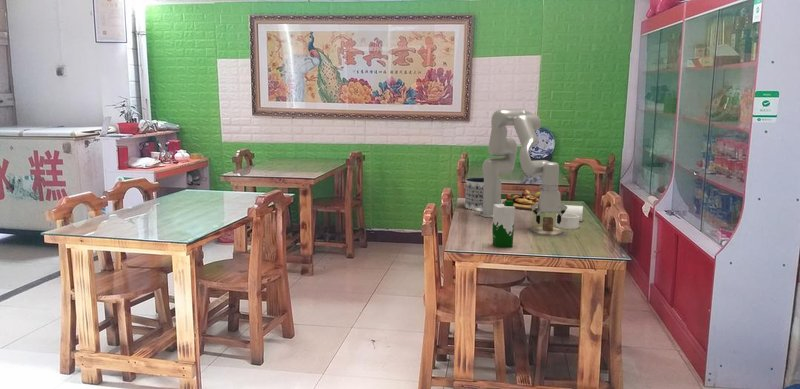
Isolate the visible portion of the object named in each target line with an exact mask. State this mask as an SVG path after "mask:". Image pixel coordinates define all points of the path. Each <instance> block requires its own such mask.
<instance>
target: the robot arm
mask: <svg viewBox="0 0 800 389" xmlns="http://www.w3.org/2000/svg"><path fill="white" fill-rule="evenodd" d="M507 126H509V127H511V126H512V127H514V130H515V133H516V134H517V137H518V140H519V142H520V145H521V148H520V150H519V154H518V144H517V142H516V140H515V139H514V138H512V137H508V127H507ZM541 127H542V120H541V118H540V117H539V116H538V115H537V114H536V113H533V112H531V111H529V110H526V109H521V108H517V109H516V108H513V109H512V108H506V109H505V108H504V109H503V108H501V109H498V110H496V111H494V112H493V114H492V116H491V131H490V136H489V137H490V138H489V143H488V148H487V149H488V154H489V155H491V157H488V158H486V159H485V160H484V161H483V162H482V168H481V169H482V174H483V178H484V194H483V206H482V208H474V210H473V212H477V213H479V216H481V217H484V218H489V219H490V218H492V219H493V207H494V204H502V203H501V202H502V180H501V178H500V177H499V176H504V175H507V176H508V175H511V174H512V172H514V169H515V164H516V158H517V154H518V155H519V157H518V159H519V160H518V161H519V163H520V167H521V169H522V171H523V174H525V175H526V176H528V177H542V178H541V180H542V182H541V185H539V186H538V188H539V189H541V190H540V191H539V192H540V195H539V201H538V203H536V204H534V205H532V206H531V208H532V210H531V211H532V212H533V213H534V214H535V222H536V223H537V224H538V225H540V224H541V214H542V213H557V214H558V215H557V214H556V215H557V223H558V224H560V222H561V216H562V214H564V213H565V211H566V209H567V206H565V205H566V204H564V203H562V200H561V199H562V197H561V192H560V191H559V180H560V179H559V176H560V175H559V174H560V164H559V163H558V162H555V161H554V162H553V161H549V160H545V159H541V160H539V159H538V160H532V159H531V156H530V153H529V152H530V150H531V148H533V147H535V146H536V145H537V144H538V143H539V138H538V136H537V133H536V131H539V129H540V128H541ZM537 206H538V211H537V210H535V207H537Z"/></svg>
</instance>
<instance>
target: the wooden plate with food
mask: <svg viewBox="0 0 800 389" xmlns="http://www.w3.org/2000/svg"><path fill="white" fill-rule="evenodd" d="M539 195H540V191H537V192H536V193H534V194H532V193H531V192H530V191H529V190H528V189H524V190H523V191H522V194H521V195H518V194H517V195H516V194H511V193H507V194H506V198H505V199H503V200H502V204H504V201H505V200H512V201H514V204H513V205H514V207H515V208H516V209H517V210H524V211H533V210H532V208H531V206H532V205H534V204H536V203H538V201H539ZM516 209H515V210H516ZM535 210H536V211H538V206H537V207H535Z"/></svg>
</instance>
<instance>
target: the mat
mask: <svg viewBox="0 0 800 389" xmlns="http://www.w3.org/2000/svg"><path fill="white" fill-rule="evenodd" d="M533 228H534V227H529V228H527V229H528V230H529V232H530V233H531V234H532V235H533V236H534V237H569V235H568V234H567V233H565V231H563V233H562V234H561V235H540V234H536V233H534V232H533Z"/></svg>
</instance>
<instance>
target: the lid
mask: <svg viewBox="0 0 800 389" xmlns="http://www.w3.org/2000/svg"><path fill="white" fill-rule="evenodd" d="M532 228H533V232H534V233H536V234H540V235H561V234H562V233H563V232H564V231H563V229H562V228H558V227H554V218H553V217H552V216H543V217H542V226H535V227H532Z"/></svg>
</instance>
